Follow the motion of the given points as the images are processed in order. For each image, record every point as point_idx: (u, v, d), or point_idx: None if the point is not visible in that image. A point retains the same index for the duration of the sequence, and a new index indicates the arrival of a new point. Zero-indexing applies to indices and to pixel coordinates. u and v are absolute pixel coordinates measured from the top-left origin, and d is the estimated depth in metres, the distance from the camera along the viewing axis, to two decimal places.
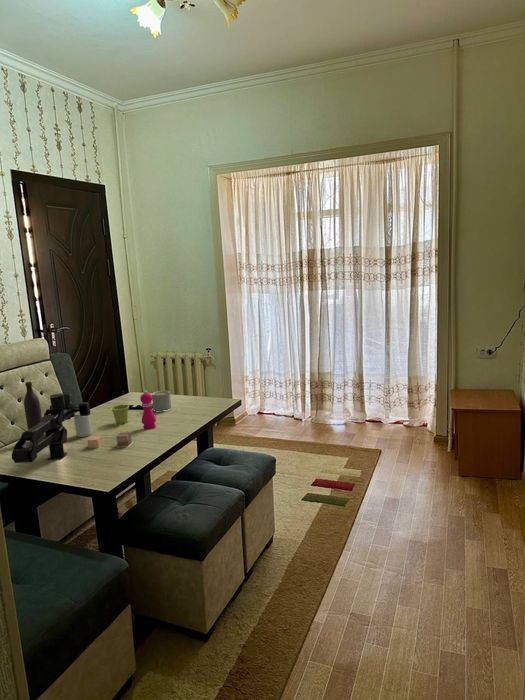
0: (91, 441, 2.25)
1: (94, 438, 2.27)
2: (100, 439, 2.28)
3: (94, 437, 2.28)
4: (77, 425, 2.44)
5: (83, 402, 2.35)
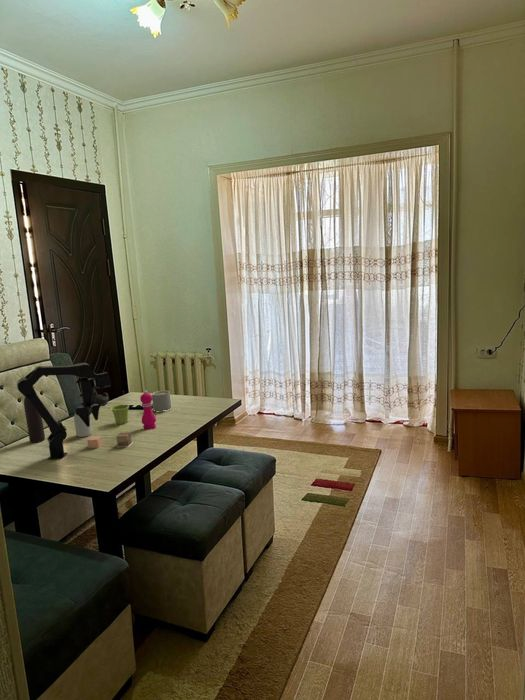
0: (91, 441, 2.25)
1: (94, 438, 2.27)
2: (100, 439, 2.28)
3: (94, 437, 2.28)
4: (77, 425, 2.44)
5: (91, 412, 2.19)
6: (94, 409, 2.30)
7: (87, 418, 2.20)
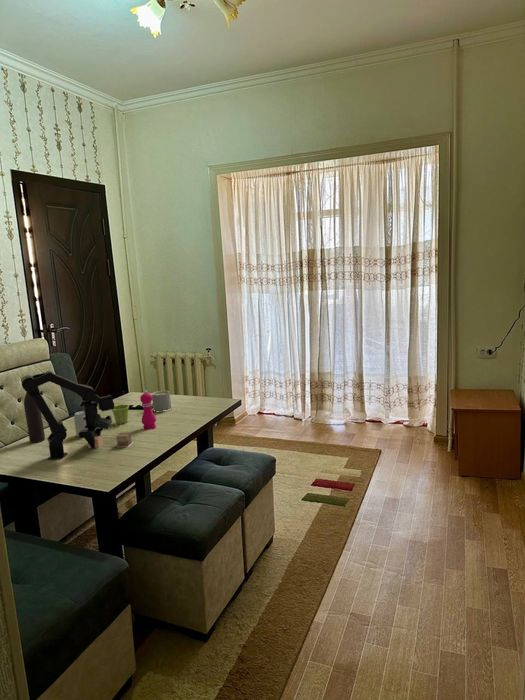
0: None
1: None
2: (100, 439, 2.28)
3: None
4: (77, 425, 2.44)
5: (96, 434, 2.22)
6: (96, 433, 2.30)
7: (92, 440, 2.24)
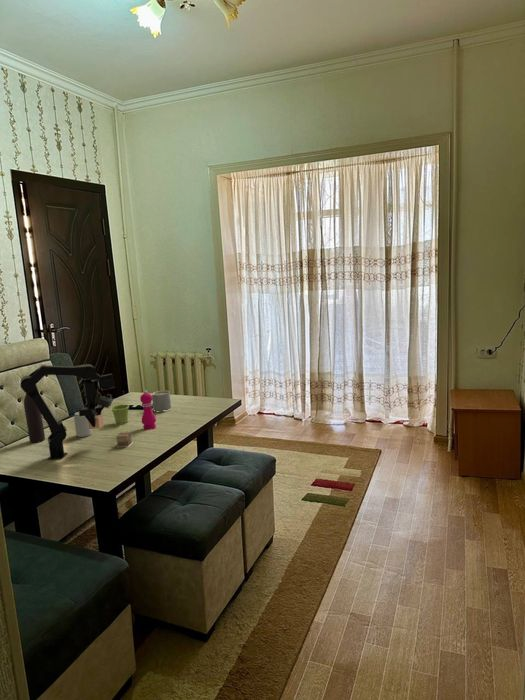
0: None
1: None
2: (101, 418, 2.26)
3: None
4: (77, 425, 2.44)
5: (96, 412, 2.21)
6: (96, 412, 2.29)
7: (93, 418, 2.22)
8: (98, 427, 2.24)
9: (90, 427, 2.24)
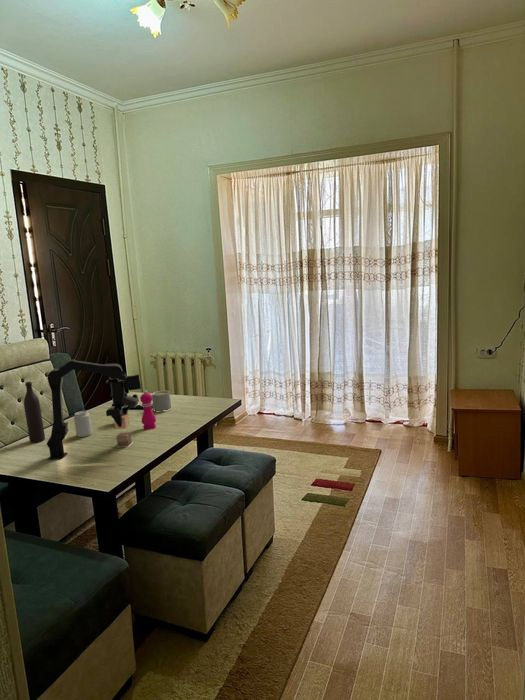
0: None
1: None
2: (127, 417, 2.25)
3: None
4: (77, 425, 2.44)
5: (123, 412, 2.20)
6: (122, 412, 2.28)
7: (119, 418, 2.21)
8: (124, 427, 2.23)
9: (116, 427, 2.23)
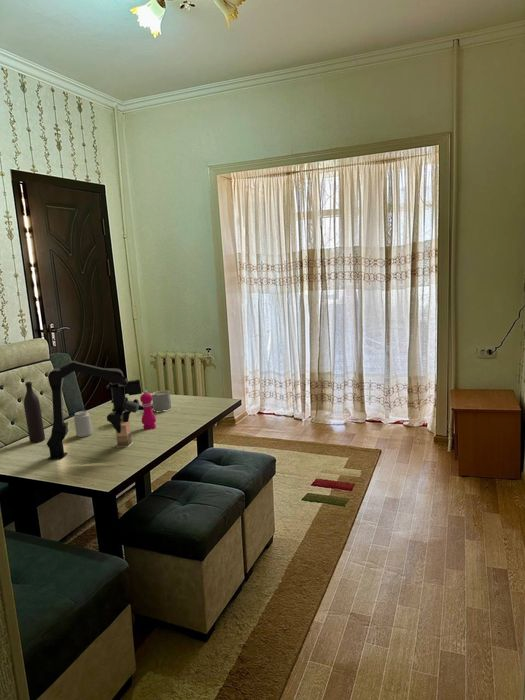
0: None
1: (121, 424, 2.25)
2: (128, 425, 2.26)
3: (122, 423, 2.26)
4: (77, 425, 2.44)
5: (122, 419, 2.18)
6: (124, 415, 2.30)
7: (118, 424, 2.19)
8: (125, 434, 2.23)
9: (117, 434, 2.24)
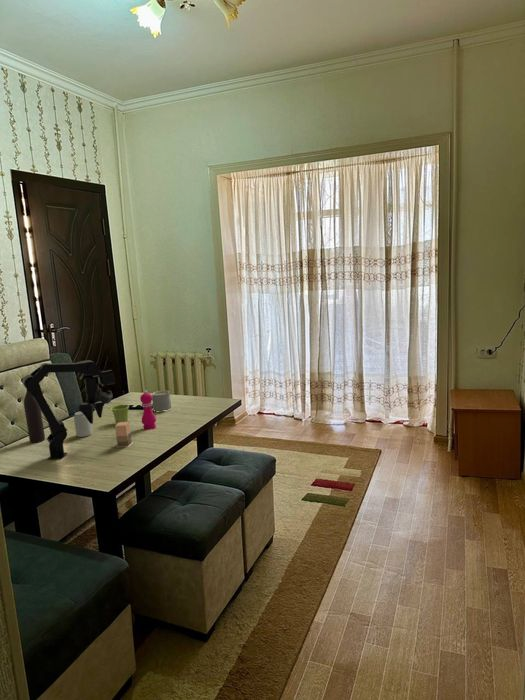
0: (119, 427, 2.23)
1: (121, 424, 2.25)
2: (128, 425, 2.26)
3: (122, 423, 2.26)
4: (77, 425, 2.44)
5: (94, 409, 2.20)
6: (98, 406, 2.32)
7: (90, 415, 2.22)
8: (125, 434, 2.23)
9: (117, 434, 2.24)
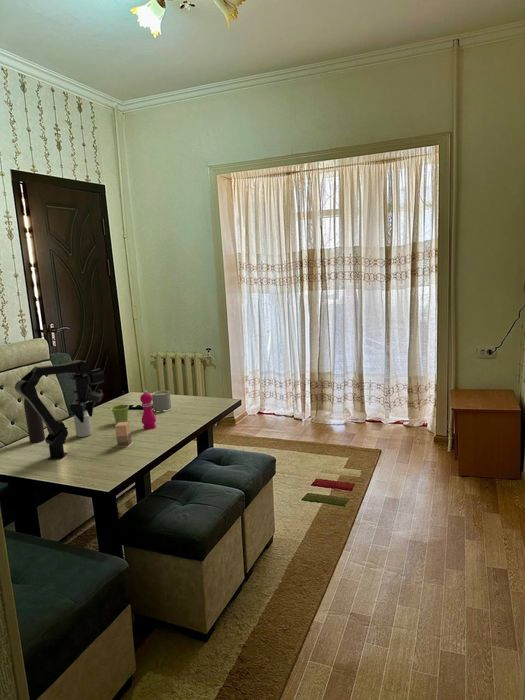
0: (119, 427, 2.23)
1: (121, 424, 2.25)
2: (128, 425, 2.26)
3: (122, 423, 2.26)
4: (77, 425, 2.44)
5: (85, 408, 2.22)
6: (88, 406, 2.33)
7: (81, 414, 2.23)
8: (125, 434, 2.23)
9: (117, 434, 2.24)
